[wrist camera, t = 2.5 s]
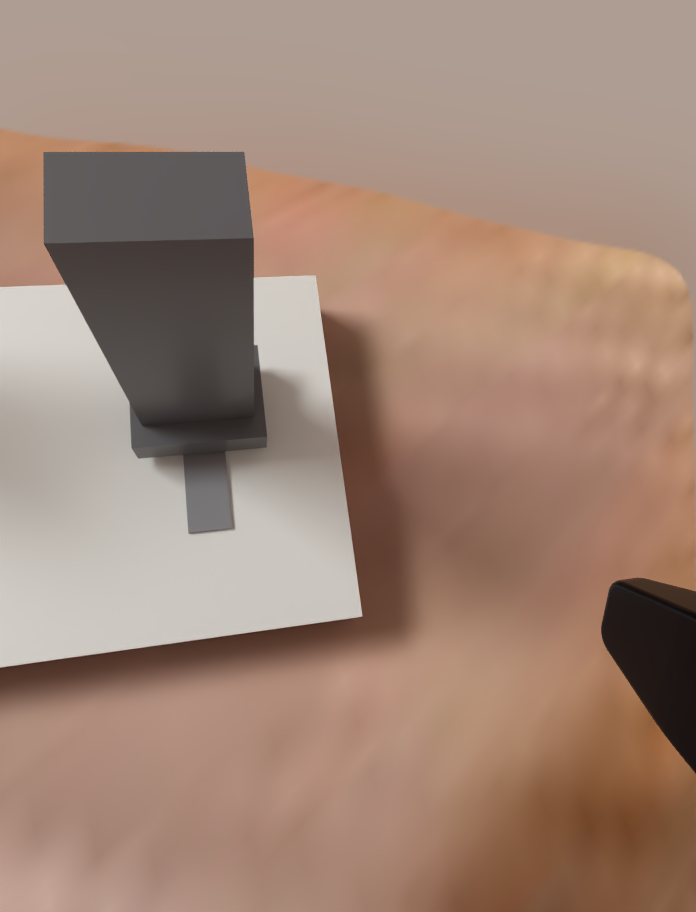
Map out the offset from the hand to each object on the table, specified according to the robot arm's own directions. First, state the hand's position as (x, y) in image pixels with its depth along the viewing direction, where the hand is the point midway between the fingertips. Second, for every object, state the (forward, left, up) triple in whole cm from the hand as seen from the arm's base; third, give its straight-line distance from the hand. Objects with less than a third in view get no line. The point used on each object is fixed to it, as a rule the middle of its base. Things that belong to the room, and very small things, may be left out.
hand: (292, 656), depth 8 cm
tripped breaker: (+7, +1, -9) cm, 11 cm away
